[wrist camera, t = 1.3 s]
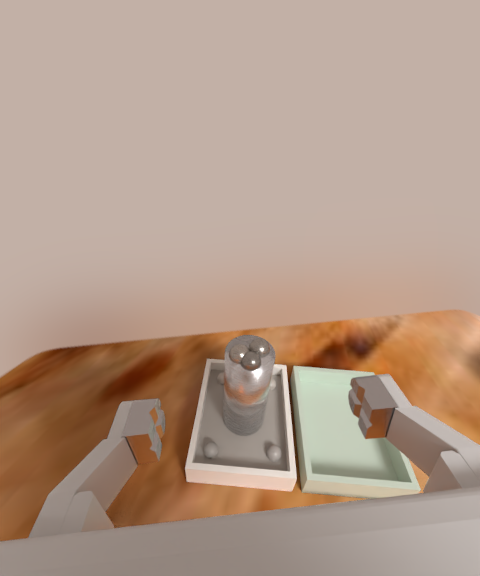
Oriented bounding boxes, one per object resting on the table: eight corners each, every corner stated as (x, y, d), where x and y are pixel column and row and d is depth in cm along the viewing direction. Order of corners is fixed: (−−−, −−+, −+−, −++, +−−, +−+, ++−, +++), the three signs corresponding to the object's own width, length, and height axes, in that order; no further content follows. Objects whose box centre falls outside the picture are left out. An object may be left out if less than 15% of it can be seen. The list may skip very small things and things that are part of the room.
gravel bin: (186, 481, 29) (185, 468, 28) (207, 372, 41) (207, 358, 39) (291, 491, 29) (296, 478, 28) (283, 378, 41) (286, 365, 39)
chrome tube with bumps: (220, 433, 32) (222, 363, 25) (225, 395, 36) (227, 325, 29) (264, 437, 32) (278, 368, 25) (263, 398, 36) (275, 329, 29)
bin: (301, 492, 29) (307, 479, 28) (290, 379, 41) (293, 365, 39) (408, 502, 29) (421, 490, 27) (366, 386, 40) (373, 372, 39)
